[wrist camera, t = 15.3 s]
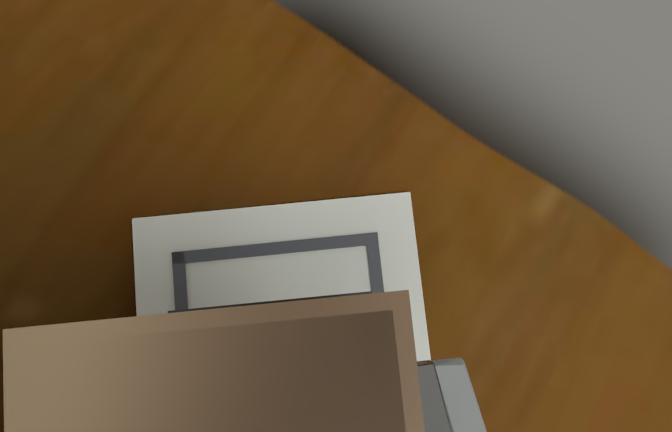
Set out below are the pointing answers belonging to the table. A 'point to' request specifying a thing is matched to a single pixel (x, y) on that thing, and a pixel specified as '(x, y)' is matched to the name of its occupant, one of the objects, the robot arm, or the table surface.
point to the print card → (280, 255)
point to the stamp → (221, 369)
